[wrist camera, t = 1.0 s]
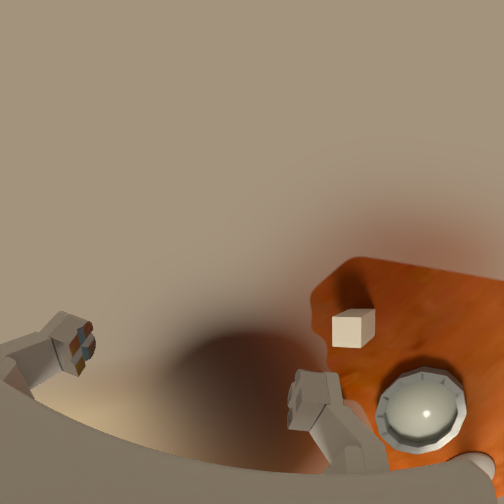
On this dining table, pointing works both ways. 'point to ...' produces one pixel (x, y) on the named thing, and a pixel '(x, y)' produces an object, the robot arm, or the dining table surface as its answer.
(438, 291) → the dining table surface
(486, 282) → the dining table surface
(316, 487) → the robot arm
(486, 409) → the dining table surface
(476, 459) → the candlestick
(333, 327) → the block
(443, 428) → the dish
